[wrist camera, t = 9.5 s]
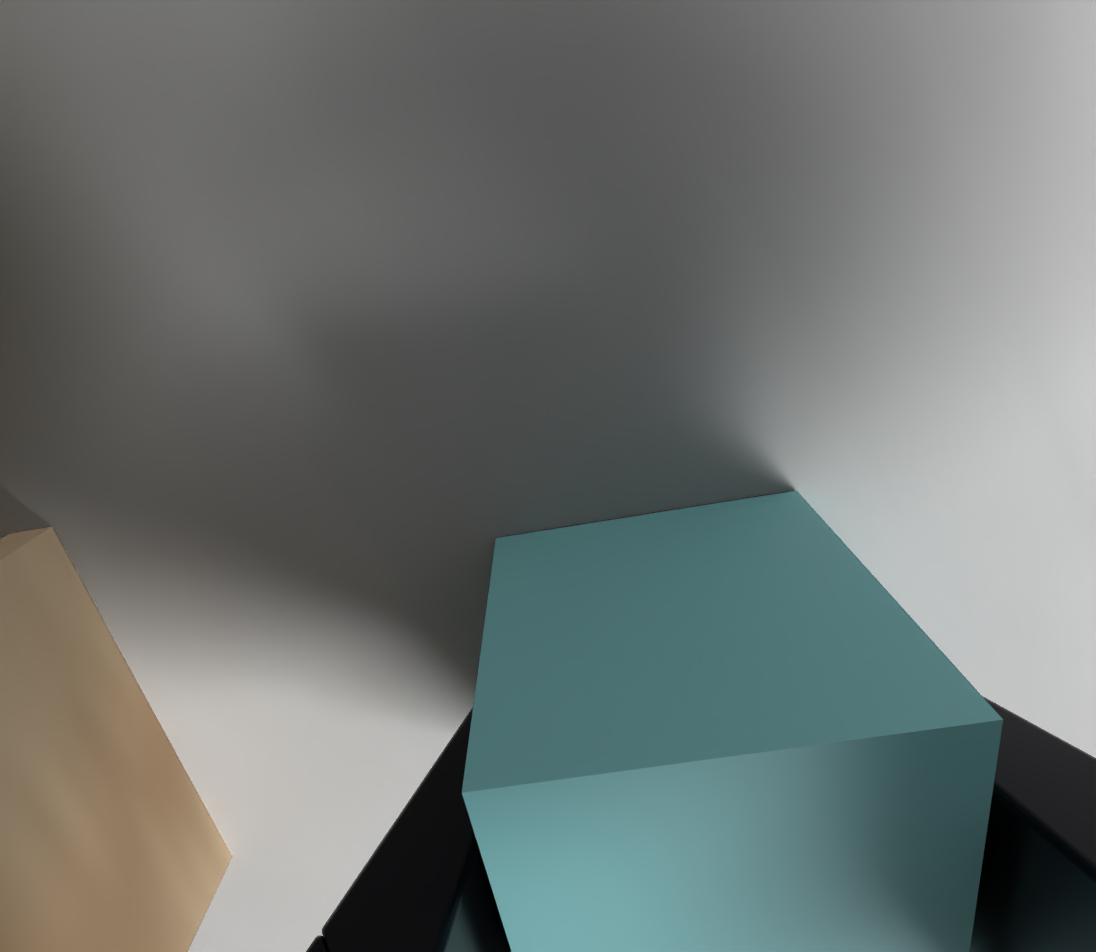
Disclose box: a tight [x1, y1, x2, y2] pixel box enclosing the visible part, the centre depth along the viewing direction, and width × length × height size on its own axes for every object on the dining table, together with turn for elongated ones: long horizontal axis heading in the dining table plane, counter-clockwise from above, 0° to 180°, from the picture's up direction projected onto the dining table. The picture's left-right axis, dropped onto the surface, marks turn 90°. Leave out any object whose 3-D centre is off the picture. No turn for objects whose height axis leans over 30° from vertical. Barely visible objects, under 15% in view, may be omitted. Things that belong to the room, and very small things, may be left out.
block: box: [462, 491, 1003, 952], centre depth 7 cm, size 4×4×4 cm
